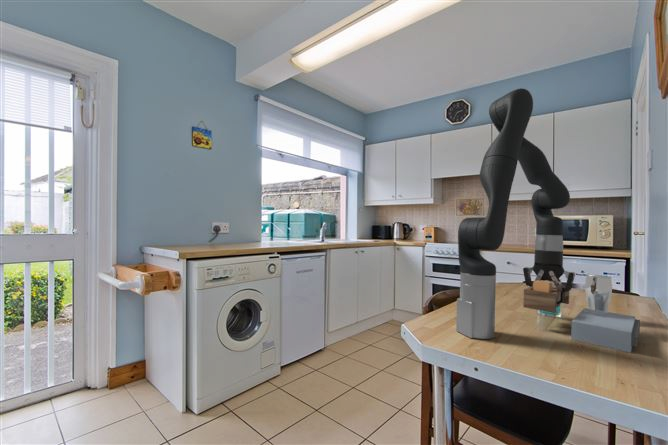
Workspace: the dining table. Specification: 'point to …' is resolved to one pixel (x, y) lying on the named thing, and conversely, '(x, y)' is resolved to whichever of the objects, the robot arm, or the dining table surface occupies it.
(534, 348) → the dining table surface
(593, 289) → the beer glass
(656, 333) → the dining table surface
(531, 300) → the brown wooden box
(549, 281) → the crate cream
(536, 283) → the orange cube
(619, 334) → the block
